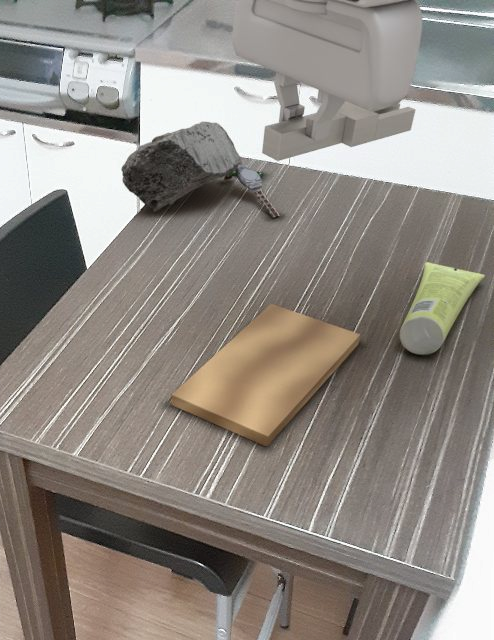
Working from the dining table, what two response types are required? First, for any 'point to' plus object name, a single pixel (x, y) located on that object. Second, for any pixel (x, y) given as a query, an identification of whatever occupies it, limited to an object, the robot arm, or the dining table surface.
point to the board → (266, 373)
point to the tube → (436, 307)
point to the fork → (336, 130)
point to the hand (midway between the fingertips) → (303, 131)
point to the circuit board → (257, 173)
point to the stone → (179, 163)
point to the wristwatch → (253, 185)
